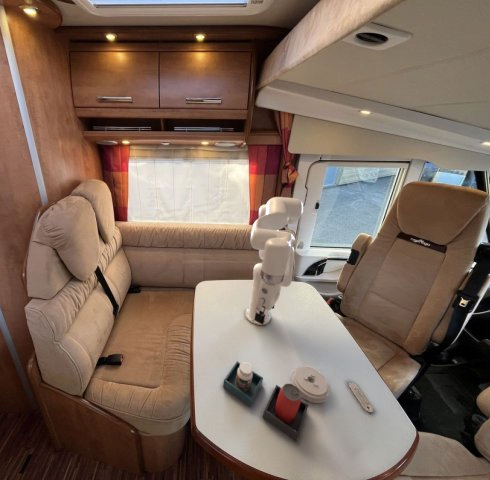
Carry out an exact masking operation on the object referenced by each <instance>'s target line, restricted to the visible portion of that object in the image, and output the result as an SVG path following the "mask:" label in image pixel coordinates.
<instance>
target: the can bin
mask: <svg viewBox="0 0 490 480" xmlns="http://www.w3.org/2000/svg"><path fill="white" fill-rule="evenodd" d="M281 388H282V387H281V386H280V385H278V384H276V385H275V387H274V389H273V390H272V392H271V395H270V397H269V400H268V402H267V404H266V406H265V408H264V410H263V414H262V418H263V419H264V420H265V421H266V422H269V423H270V424H271V425H272V426H274V427H275V428H276V429H278V430H279V431H280V432H282V433H283V434H284V435H286V437H289V438H290V439H291V440H293V441H294V442H295V443H297V441H298V439H299V437H300V433H301V430H302V427H303V424H304V421H305V417H306V414H307V412H308V408H309V404H308V403H306V402H305V401H303V400H301V403H300V406H299V409H298V411H297V414H296V417H295V420H294V421H293V422H292V423H285V422H283V421H281V420H280V419H279V418H278V417H277V415H276V412H275V406H276V403H277V399H278V396H279V392H280V389H281Z"/></svg>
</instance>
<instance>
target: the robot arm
mask: <svg viewBox="0 0 490 480" xmlns="http://www.w3.org/2000/svg"><path fill="white" fill-rule="evenodd" d="M303 213H304V204H303V201H302V200H301V199H299V198H297V197H295V198H294V197H285V196H284V197H283V196H274V197H271V198H270V199H269V200H267V202H266V204H262V205H261V206H260V207H259V209H258V218H257V219H256V220H255V221H254V223H253V224H252V228H251V232H250V246H251V247H252V249H254V250H258V256H259V258H260V260H262V262H258V263H256V264H255V265H254V267H253V269H252V288H251V295H250V302H249V307H247V308H246V310H245V317H246V319H247V320H248V321H249V322H250V323H252V324H254V325H257V326H263V325H268V324H269V322H271V315H270V313H269V311H271V310H274V309H275V305H276V304H277V302H278V300H279V299H280V295H281V289H282V288H288V287H289V286H291V284H292V280H293V272H294V262H295V248H294V246H295V237H294V235H293V234H292V232H289V231H283V230H282V229H284V228H285V227H286V226H287V225H294V224H296V223H297V221H299V220H300V218H301V217H302V215H303Z"/></svg>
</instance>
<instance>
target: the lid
mask: <svg viewBox="0 0 490 480" xmlns="http://www.w3.org/2000/svg"><path fill="white" fill-rule="evenodd" d="M290 381H291V384H292V385H294V386H296V387H297V388H298V389H299V391H300V393H301V398H302V399H304V400H305V401H308V402H310V403H315V404H319V403H320V404H321V403H323V402H325V401H326V400H327V398H328V396H329V394H330V391H331V390H330V384H329V381H328V380H327V378H326V377H325V375H323V373H321V372H320V371H319V370H318V369H316V368H314V367H311V366H309V365H298V366H296V367H295V368H294V369H293V371H292V375H291V379H290Z"/></svg>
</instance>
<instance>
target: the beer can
mask: <svg viewBox="0 0 490 480" xmlns="http://www.w3.org/2000/svg"><path fill="white" fill-rule="evenodd" d="M301 401H302V397H301V393H300V391H299V389H298V388H297V387H296V386H294V385H292V383H285V384H284V385H283V386H282V387H281V389H280V392H279V396H278V399H277V403H276V406H275V412H276V415H277V417H278V418H279V419H280V420H281V421H283V422H285V423H292V422H293V421H294V420H295V417H296V414H297V411H298V409H299V406H300V403H301Z"/></svg>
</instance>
